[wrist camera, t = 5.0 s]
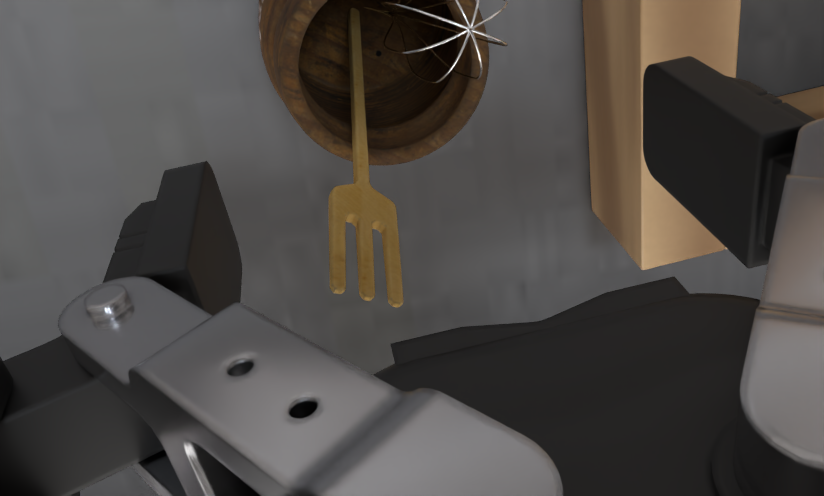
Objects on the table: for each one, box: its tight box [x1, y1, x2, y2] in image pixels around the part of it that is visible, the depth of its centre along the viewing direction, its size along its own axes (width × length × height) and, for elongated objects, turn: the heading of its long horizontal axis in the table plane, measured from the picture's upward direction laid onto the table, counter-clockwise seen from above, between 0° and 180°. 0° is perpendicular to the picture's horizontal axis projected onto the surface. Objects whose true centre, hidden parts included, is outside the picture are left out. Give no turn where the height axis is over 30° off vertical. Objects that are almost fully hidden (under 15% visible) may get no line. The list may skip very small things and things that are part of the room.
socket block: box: [582, 0, 824, 270], centre depth 24 cm, size 13×13×4 cm
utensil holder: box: [259, 0, 508, 307], centre depth 18 cm, size 6×6×12 cm
